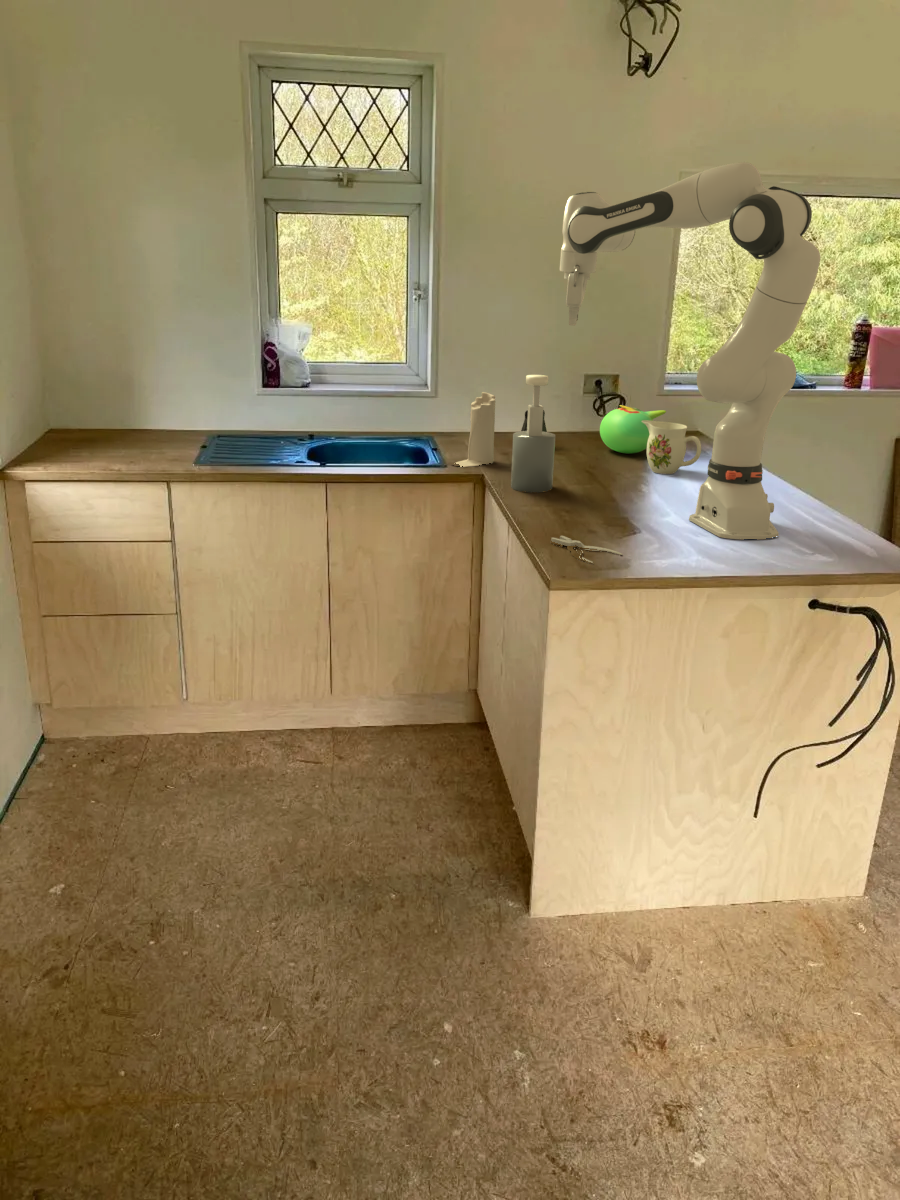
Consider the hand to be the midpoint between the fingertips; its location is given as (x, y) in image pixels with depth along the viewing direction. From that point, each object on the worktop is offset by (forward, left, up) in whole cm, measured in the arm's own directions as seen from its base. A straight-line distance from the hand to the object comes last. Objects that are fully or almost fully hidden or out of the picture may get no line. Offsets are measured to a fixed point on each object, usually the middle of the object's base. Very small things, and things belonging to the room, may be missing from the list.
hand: (573, 323), depth 232 cm
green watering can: (+43, -29, -42) cm, 67 cm away
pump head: (0, +8, -22) cm, 24 cm away
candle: (+28, +21, -42) cm, 55 cm away
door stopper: (+50, 0, -42) cm, 66 cm away
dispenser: (0, +8, -42) cm, 43 cm away
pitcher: (+17, -34, -42) cm, 57 cm away
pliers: (-54, +6, -43) cm, 69 cm away
